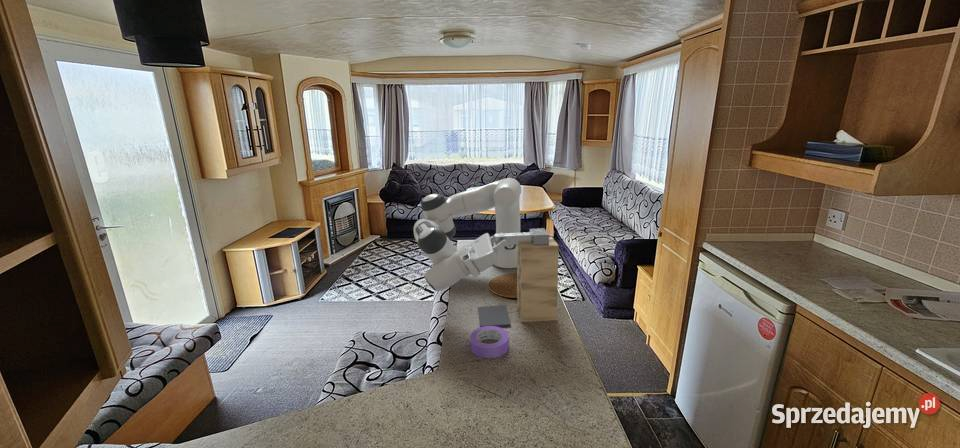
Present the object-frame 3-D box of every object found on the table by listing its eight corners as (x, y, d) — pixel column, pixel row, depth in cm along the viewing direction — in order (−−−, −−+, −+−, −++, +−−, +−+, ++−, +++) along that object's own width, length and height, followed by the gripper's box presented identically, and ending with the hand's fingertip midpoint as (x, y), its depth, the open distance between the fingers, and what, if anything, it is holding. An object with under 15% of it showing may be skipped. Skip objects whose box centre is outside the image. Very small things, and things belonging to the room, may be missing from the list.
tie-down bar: (494, 240, 131) (493, 230, 130) (543, 238, 132) (544, 228, 131) (496, 247, 125) (496, 237, 124) (548, 244, 126) (549, 234, 125)
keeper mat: (478, 308, 142) (478, 306, 141) (505, 307, 142) (505, 305, 142) (480, 328, 129) (480, 325, 129) (510, 326, 130) (510, 324, 129)
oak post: (517, 309, 140) (517, 238, 133) (549, 307, 141) (551, 236, 133) (521, 322, 132) (521, 247, 124) (556, 320, 133) (558, 245, 125)
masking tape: (480, 363, 112) (480, 351, 111) (464, 342, 122) (464, 331, 121) (515, 351, 117) (515, 340, 115) (497, 332, 127) (497, 322, 126)
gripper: (472, 255, 140) (505, 235, 138) (476, 279, 120) (514, 256, 119) (463, 241, 138) (496, 221, 137) (465, 263, 118) (504, 240, 117)
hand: (505, 237), depth 128 cm, fingers open, 5 cm apart
